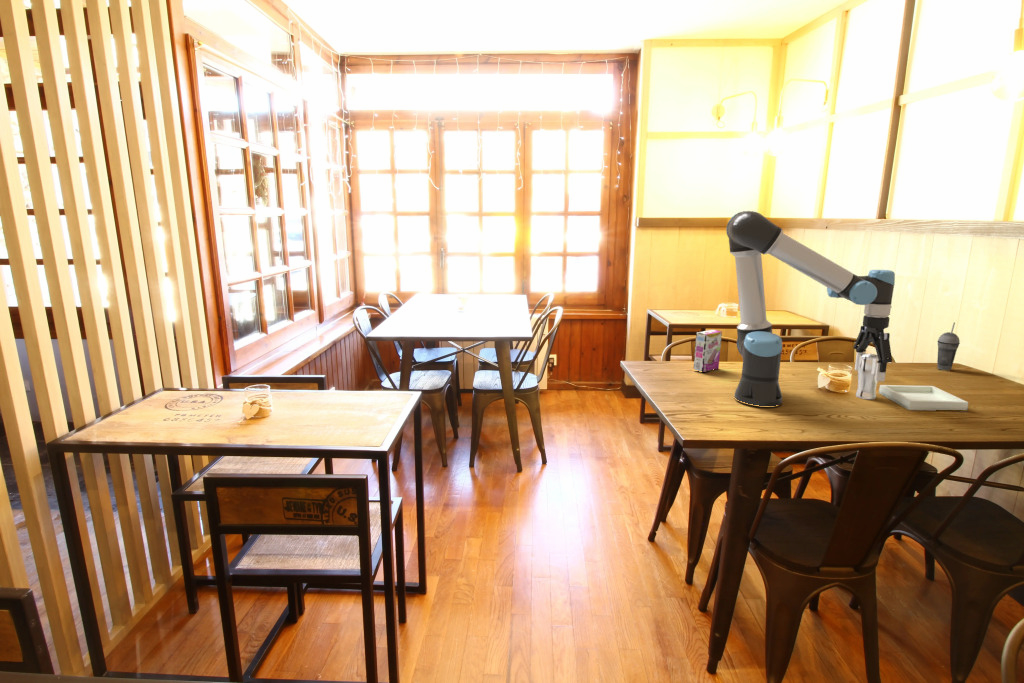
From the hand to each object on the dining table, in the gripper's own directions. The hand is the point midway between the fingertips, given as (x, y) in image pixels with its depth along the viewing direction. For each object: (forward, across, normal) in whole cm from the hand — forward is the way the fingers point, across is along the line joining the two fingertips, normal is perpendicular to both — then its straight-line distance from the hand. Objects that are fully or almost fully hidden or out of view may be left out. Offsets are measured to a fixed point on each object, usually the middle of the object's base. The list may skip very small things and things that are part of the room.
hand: (869, 375), depth 196 cm
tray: (+8, -4, -16) cm, 18 cm away
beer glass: (+8, 0, 0) cm, 8 cm away
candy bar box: (+8, +32, +47) cm, 58 cm away
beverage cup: (+8, +39, -50) cm, 64 cm away
